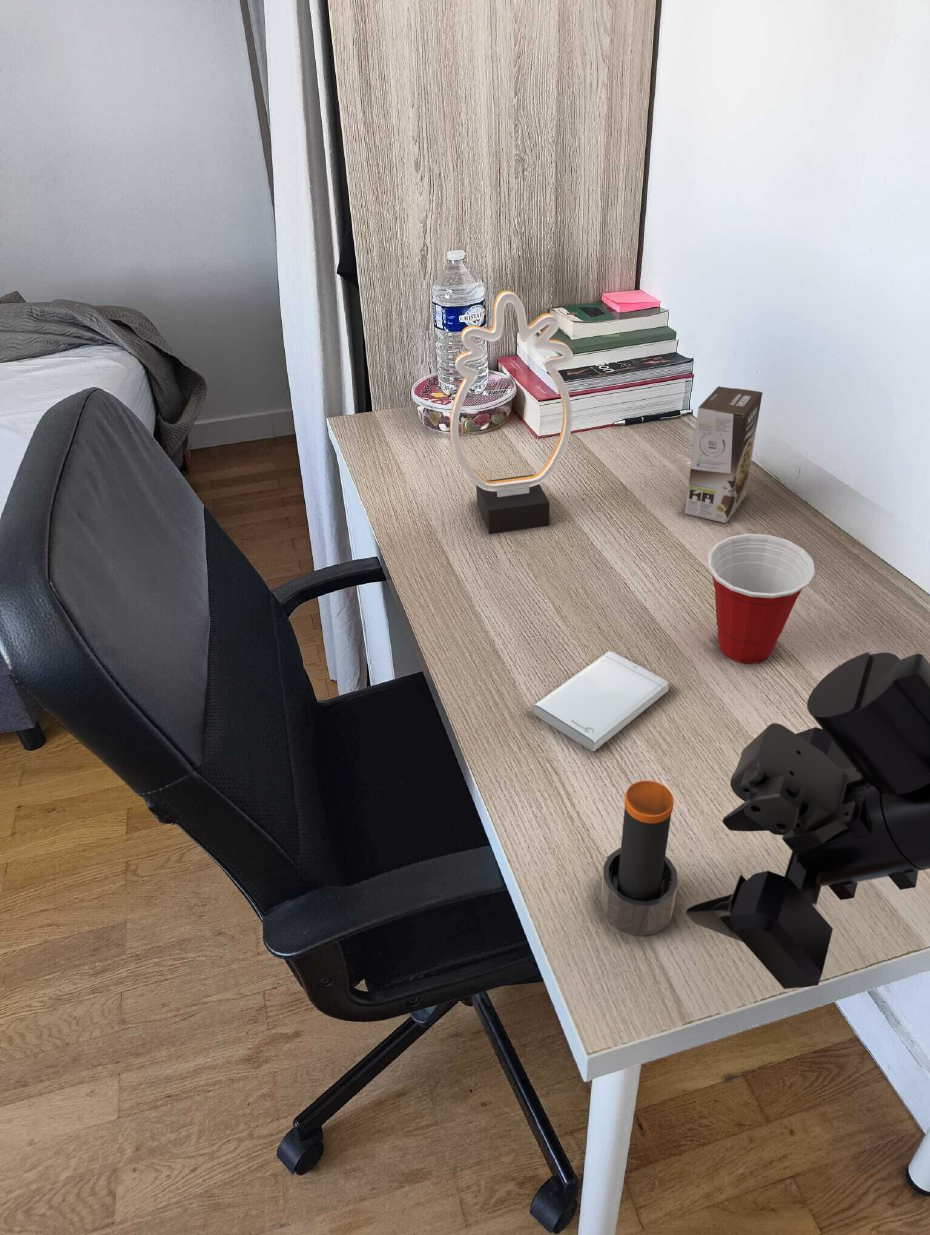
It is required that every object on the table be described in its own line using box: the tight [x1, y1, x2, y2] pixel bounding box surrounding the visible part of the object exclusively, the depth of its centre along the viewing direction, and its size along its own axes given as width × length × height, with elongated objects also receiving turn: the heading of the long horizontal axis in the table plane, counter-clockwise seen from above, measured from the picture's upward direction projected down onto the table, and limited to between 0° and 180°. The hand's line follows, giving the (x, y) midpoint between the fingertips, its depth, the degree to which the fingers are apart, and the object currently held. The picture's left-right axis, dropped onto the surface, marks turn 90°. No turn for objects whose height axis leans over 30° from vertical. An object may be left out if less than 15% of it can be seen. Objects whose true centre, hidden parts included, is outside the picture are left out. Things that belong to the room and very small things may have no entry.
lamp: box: [449, 290, 574, 534], centre depth 113 cm, size 17×9×32 cm, turn 101°
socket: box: [600, 847, 679, 937], centre depth 68 cm, size 6×6×4 cm
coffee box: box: [684, 386, 763, 524], centre depth 117 cm, size 9×6×16 cm
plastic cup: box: [707, 533, 816, 664], centre depth 92 cm, size 11×11×12 cm
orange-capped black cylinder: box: [617, 780, 675, 902], centre depth 65 cm, size 4×4×12 cm
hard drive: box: [533, 650, 670, 752], centre depth 89 cm, size 2×8×12 cm
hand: (708, 867), depth 63 cm, fingers open, 9 cm apart
